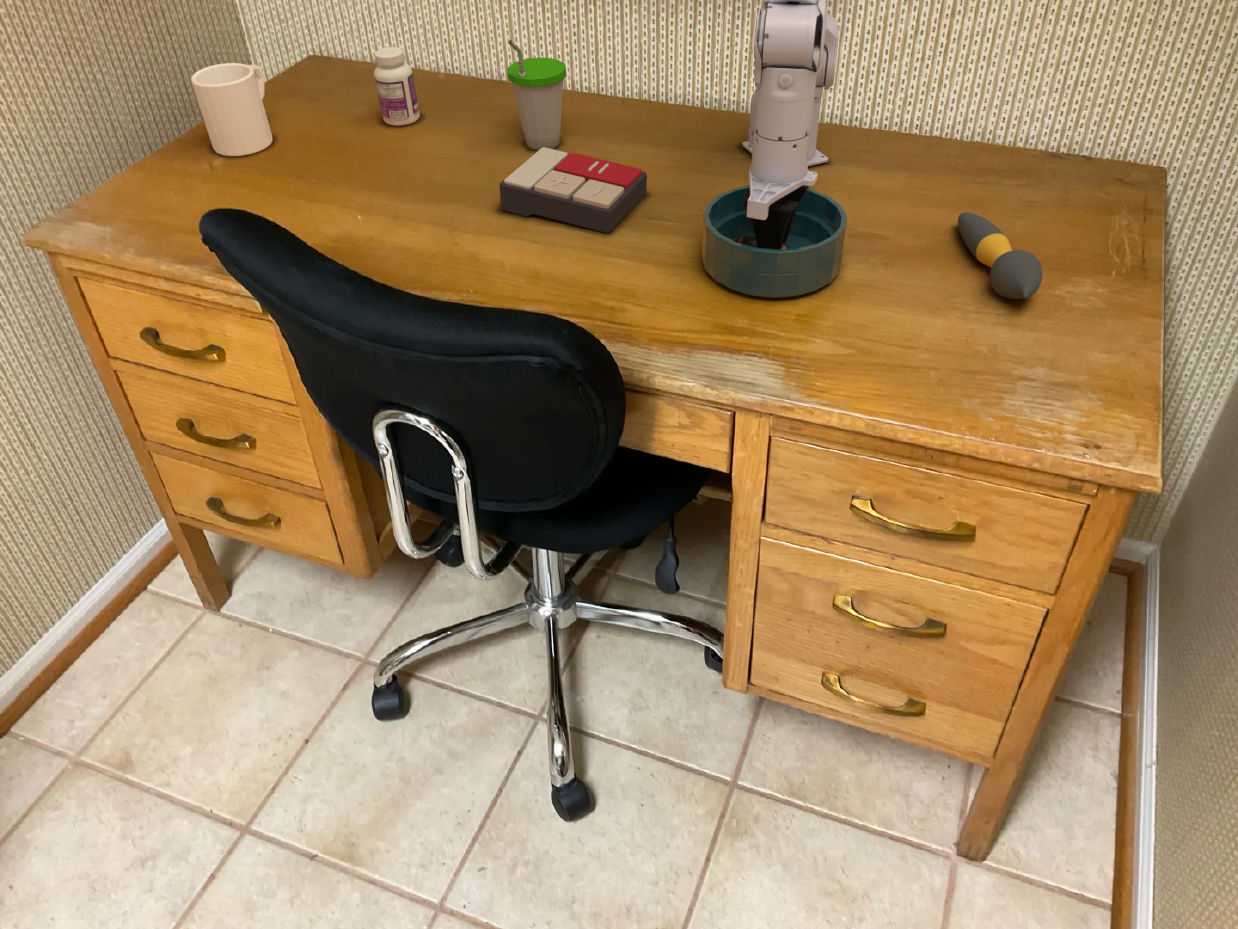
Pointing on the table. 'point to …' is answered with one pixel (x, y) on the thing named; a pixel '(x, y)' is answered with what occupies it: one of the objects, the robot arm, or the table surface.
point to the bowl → (769, 269)
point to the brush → (754, 242)
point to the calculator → (573, 189)
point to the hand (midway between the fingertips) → (771, 248)
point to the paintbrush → (1001, 257)
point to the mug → (233, 107)
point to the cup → (538, 98)
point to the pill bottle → (395, 87)
